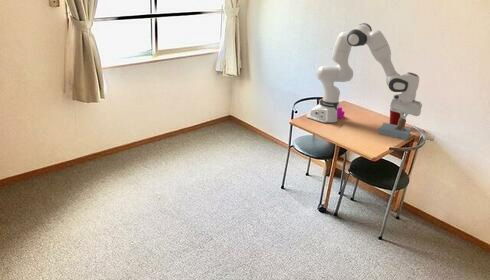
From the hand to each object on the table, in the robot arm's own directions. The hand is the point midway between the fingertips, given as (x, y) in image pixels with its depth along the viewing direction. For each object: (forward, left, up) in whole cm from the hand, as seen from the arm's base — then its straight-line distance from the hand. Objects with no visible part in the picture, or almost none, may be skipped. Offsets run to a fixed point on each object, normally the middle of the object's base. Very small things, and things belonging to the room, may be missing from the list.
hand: (402, 118), depth 255 cm
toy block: (-49, +15, -12) cm, 52 cm away
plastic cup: (-6, +18, -12) cm, 22 cm away
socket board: (-3, 0, -11) cm, 12 cm away
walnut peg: (0, 0, -10) cm, 10 cm away
